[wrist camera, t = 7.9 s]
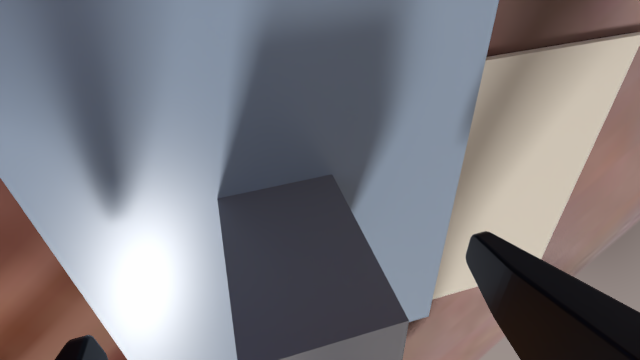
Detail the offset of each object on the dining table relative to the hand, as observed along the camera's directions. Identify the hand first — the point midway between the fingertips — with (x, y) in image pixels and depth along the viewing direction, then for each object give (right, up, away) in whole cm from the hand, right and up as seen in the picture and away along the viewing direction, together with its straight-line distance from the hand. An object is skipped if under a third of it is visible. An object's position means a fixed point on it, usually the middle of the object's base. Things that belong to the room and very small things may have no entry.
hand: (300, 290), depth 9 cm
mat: (+11, +1, +17) cm, 20 cm away
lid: (-1, +2, +2) cm, 3 cm away
